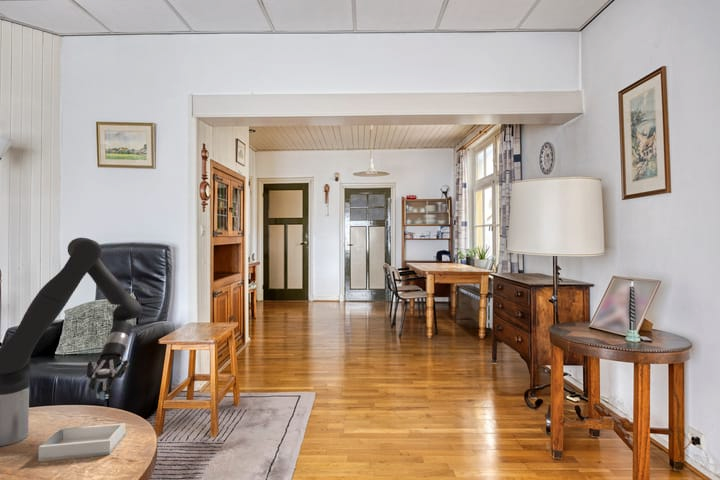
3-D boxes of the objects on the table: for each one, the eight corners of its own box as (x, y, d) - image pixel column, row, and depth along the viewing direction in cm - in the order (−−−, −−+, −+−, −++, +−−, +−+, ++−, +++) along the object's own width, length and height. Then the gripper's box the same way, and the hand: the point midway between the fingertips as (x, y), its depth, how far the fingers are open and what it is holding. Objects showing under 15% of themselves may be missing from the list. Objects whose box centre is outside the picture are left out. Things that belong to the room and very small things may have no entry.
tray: (38, 461, 115) (38, 447, 115) (61, 441, 127) (61, 428, 127) (109, 454, 119) (109, 440, 119) (125, 435, 131) (125, 423, 131)
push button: (115, 397, 136) (117, 370, 136) (99, 402, 131) (101, 374, 132) (106, 393, 139) (108, 366, 140) (90, 398, 135) (92, 370, 135)
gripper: (91, 342, 141) (73, 385, 129) (132, 340, 144) (118, 383, 132) (98, 352, 146) (81, 394, 134) (137, 350, 149) (124, 392, 137)
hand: (100, 388), depth 133 cm, fingers closed on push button, 4 cm apart
